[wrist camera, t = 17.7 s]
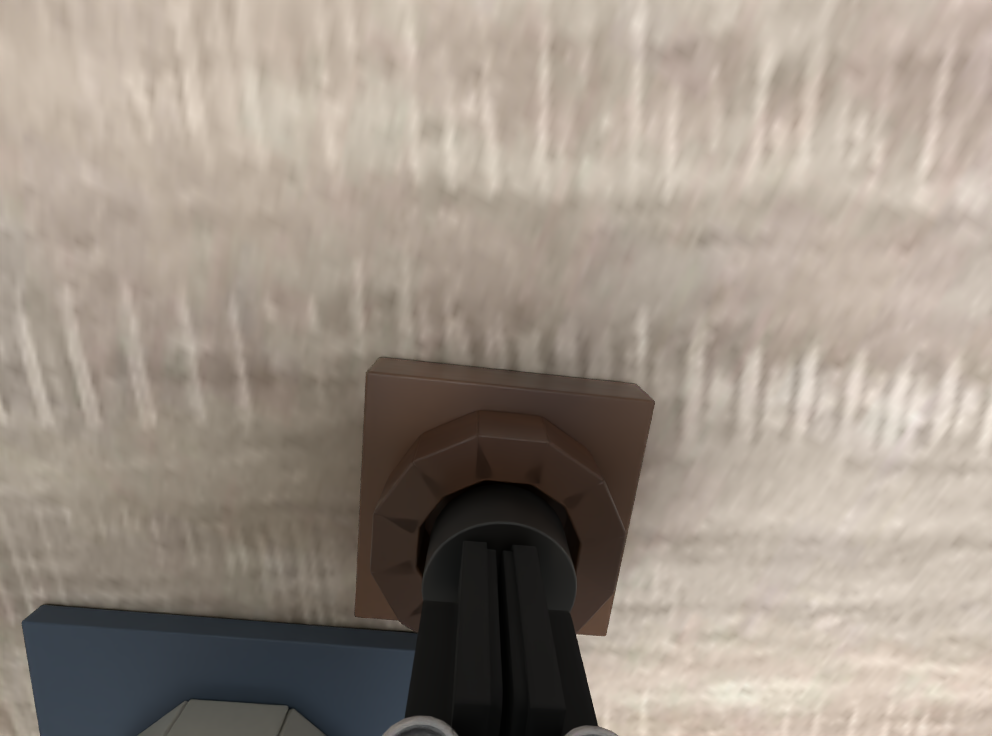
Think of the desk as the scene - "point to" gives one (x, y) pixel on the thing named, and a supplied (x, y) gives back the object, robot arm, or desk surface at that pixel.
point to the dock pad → (211, 675)
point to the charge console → (494, 471)
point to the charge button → (499, 541)
